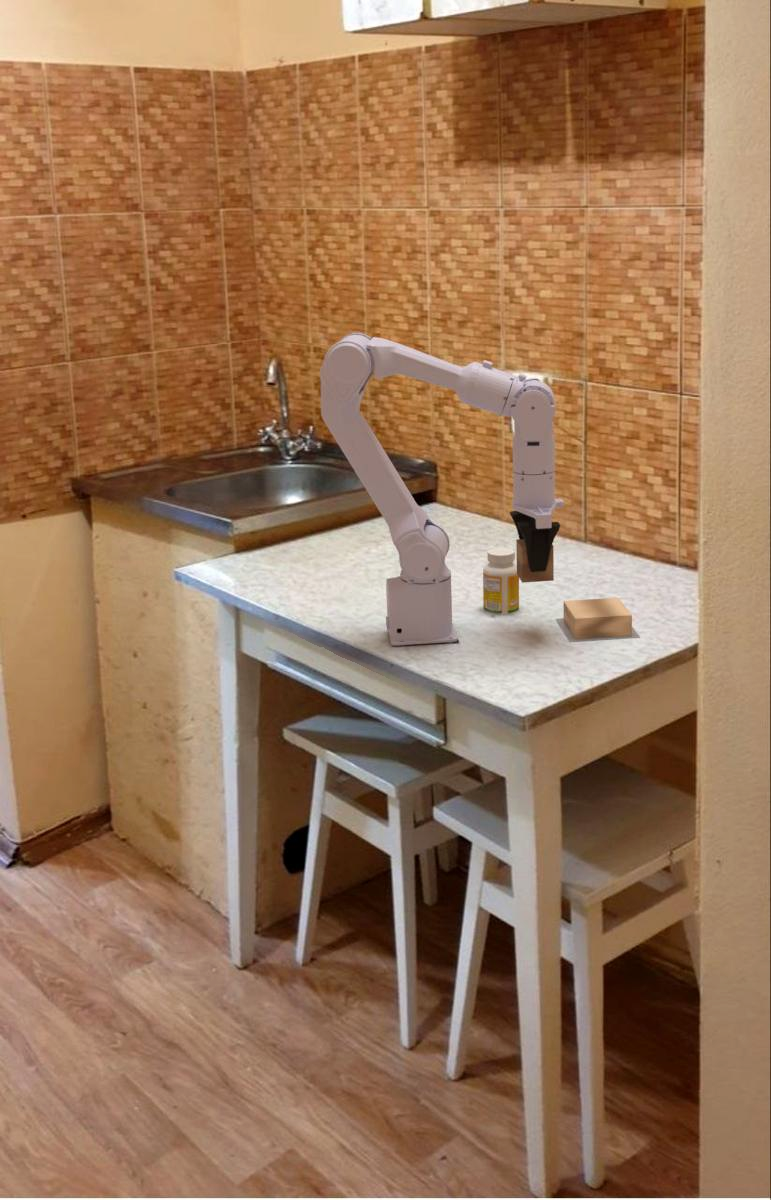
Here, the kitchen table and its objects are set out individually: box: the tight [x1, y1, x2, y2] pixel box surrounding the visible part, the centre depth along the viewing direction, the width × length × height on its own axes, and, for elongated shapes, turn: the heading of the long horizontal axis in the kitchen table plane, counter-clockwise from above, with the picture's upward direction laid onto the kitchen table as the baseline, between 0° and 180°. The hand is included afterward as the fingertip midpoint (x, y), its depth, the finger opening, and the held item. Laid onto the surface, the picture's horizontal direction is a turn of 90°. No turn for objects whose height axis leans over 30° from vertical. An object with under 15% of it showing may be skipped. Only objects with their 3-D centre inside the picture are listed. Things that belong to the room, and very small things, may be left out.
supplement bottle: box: [482, 547, 520, 616], centre depth 193 cm, size 5×5×10 cm
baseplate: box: [555, 617, 642, 643], centre depth 185 cm, size 10×10×1 cm
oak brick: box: [563, 597, 633, 639], centre depth 184 cm, size 8×8×3 cm
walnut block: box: [515, 539, 555, 583], centre depth 181 cm, size 4×4×5 cm
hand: (534, 565), depth 181 cm, fingers closed on walnut block, 4 cm apart
